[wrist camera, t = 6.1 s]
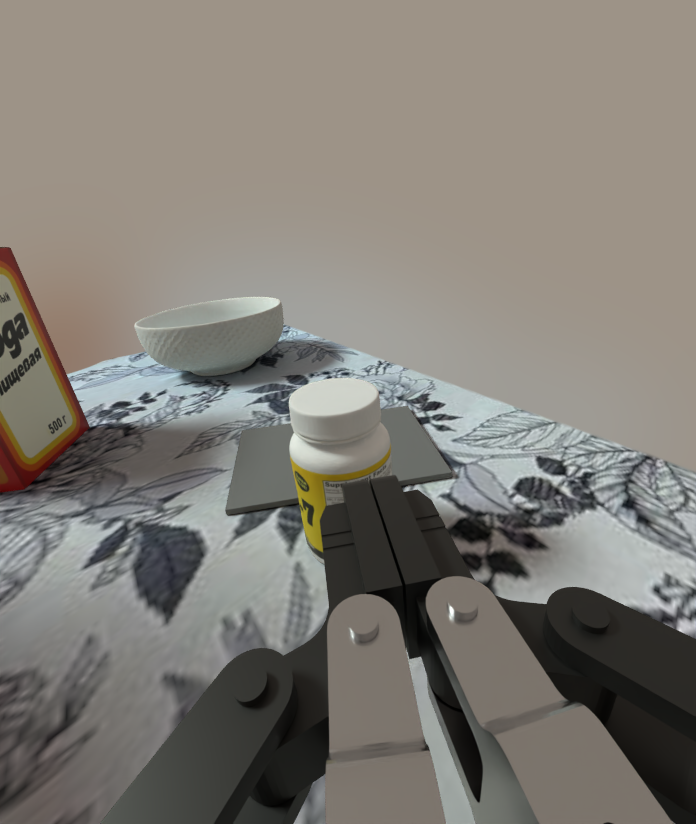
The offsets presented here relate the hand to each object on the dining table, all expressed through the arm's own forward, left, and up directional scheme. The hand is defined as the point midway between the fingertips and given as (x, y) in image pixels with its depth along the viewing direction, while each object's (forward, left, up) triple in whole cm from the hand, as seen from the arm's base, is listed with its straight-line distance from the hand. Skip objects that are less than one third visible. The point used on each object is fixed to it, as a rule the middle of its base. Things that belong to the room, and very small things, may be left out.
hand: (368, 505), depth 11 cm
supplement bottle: (-6, +4, -8) cm, 11 cm away
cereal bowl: (-40, +14, -8) cm, 43 cm away
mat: (-13, +9, -8) cm, 18 cm away
